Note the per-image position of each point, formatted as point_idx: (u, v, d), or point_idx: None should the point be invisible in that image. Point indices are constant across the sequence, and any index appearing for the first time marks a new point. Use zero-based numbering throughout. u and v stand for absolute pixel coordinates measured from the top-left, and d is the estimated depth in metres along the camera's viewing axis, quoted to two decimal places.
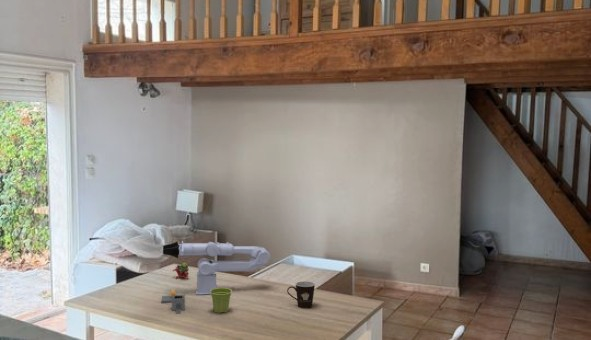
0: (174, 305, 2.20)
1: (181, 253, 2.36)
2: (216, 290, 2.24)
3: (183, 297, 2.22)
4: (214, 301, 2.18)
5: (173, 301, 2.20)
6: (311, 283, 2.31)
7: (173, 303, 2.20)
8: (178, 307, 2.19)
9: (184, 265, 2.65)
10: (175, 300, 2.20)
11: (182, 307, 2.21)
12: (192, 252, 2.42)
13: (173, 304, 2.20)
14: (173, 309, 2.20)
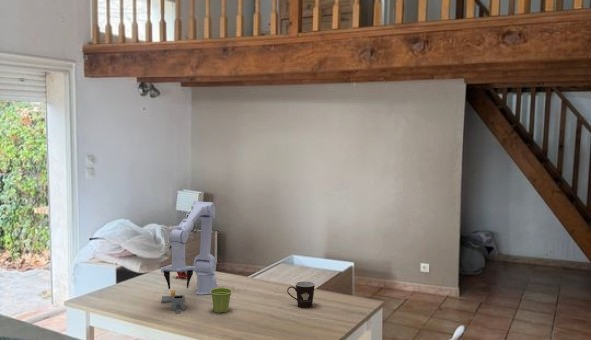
0: (174, 305, 2.20)
1: (195, 268, 2.23)
2: (216, 290, 2.24)
3: (183, 297, 2.22)
4: (214, 301, 2.18)
5: (173, 301, 2.20)
6: (311, 283, 2.31)
7: (173, 303, 2.20)
8: (178, 307, 2.19)
9: None
10: (175, 300, 2.20)
11: (182, 307, 2.21)
12: None
13: (173, 304, 2.20)
14: (173, 309, 2.20)
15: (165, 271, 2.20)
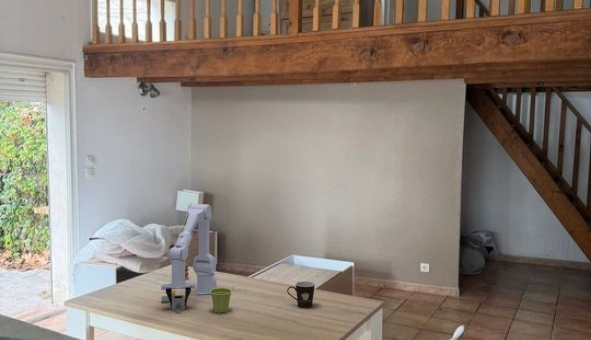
0: (174, 305, 2.20)
1: None
2: (216, 290, 2.24)
3: (183, 297, 2.22)
4: (214, 301, 2.18)
5: (173, 301, 2.20)
6: (311, 283, 2.31)
7: (173, 303, 2.20)
8: (178, 307, 2.19)
9: None
10: (175, 300, 2.20)
11: (182, 307, 2.21)
12: None
13: (173, 304, 2.20)
14: (173, 309, 2.20)
15: (165, 288, 2.21)
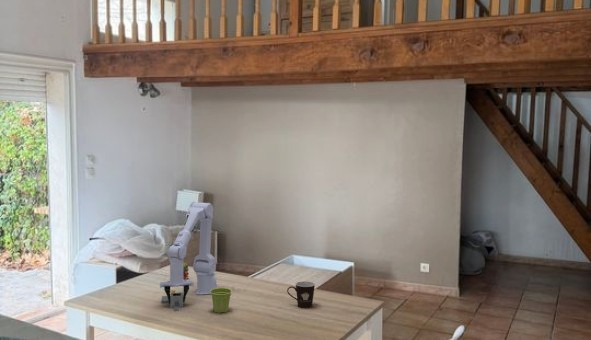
0: (172, 302, 2.23)
1: (193, 283, 2.28)
2: (216, 290, 2.24)
3: (181, 294, 2.26)
4: (214, 301, 2.18)
5: (171, 298, 2.23)
6: (311, 283, 2.31)
7: (171, 301, 2.23)
8: (176, 304, 2.22)
9: (184, 265, 2.65)
10: (173, 297, 2.23)
11: (180, 304, 2.24)
12: None
13: (171, 301, 2.23)
14: (171, 306, 2.23)
15: (164, 286, 2.24)
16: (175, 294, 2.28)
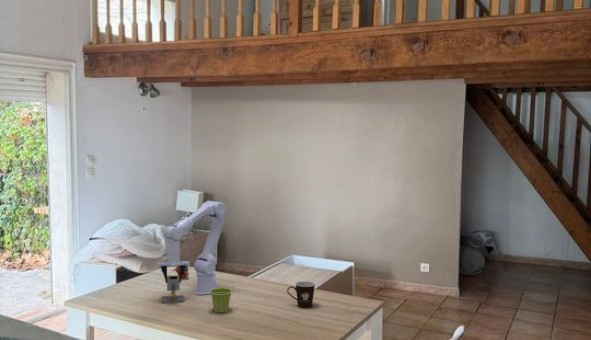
0: (169, 286, 2.30)
1: (189, 263, 2.34)
2: (216, 290, 2.24)
3: (178, 278, 2.32)
4: (214, 301, 2.18)
5: (168, 282, 2.29)
6: (311, 283, 2.31)
7: (168, 284, 2.30)
8: (173, 288, 2.29)
9: None
10: (170, 281, 2.30)
11: (177, 287, 2.31)
12: None
13: (168, 285, 2.30)
14: (168, 289, 2.30)
15: (161, 266, 2.31)
16: (172, 277, 2.34)
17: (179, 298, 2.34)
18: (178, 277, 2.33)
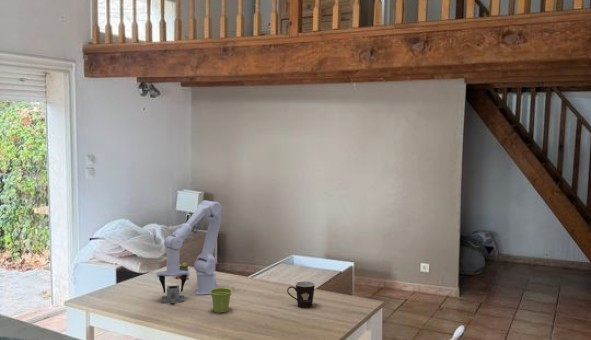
0: (169, 295, 2.31)
1: None
2: (216, 290, 2.24)
3: (178, 287, 2.33)
4: (214, 301, 2.18)
5: (168, 291, 2.31)
6: (311, 283, 2.31)
7: (168, 293, 2.31)
8: (173, 297, 2.30)
9: (184, 265, 2.65)
10: (170, 290, 2.31)
11: (177, 297, 2.31)
12: None
13: (168, 294, 2.31)
14: (168, 298, 2.31)
15: (160, 276, 2.32)
16: (171, 287, 2.35)
17: (179, 298, 2.34)
18: (178, 286, 2.34)
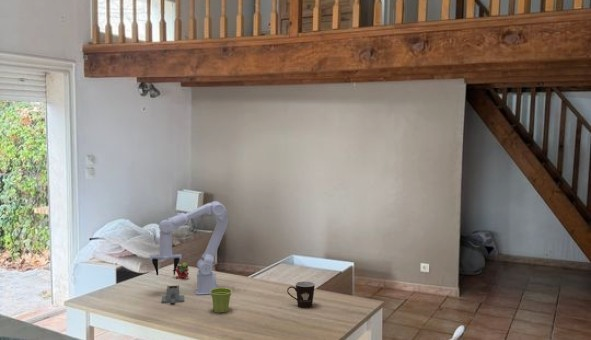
0: (169, 295, 2.31)
1: (181, 256, 2.42)
2: (216, 290, 2.24)
3: (178, 287, 2.33)
4: (214, 301, 2.18)
5: (168, 291, 2.31)
6: (311, 283, 2.31)
7: (168, 293, 2.31)
8: (173, 297, 2.30)
9: (184, 265, 2.65)
10: (170, 290, 2.31)
11: (177, 297, 2.31)
12: None
13: (168, 294, 2.31)
14: (168, 298, 2.31)
15: (153, 259, 2.38)
16: (171, 287, 2.35)
17: (179, 298, 2.34)
18: (178, 286, 2.34)
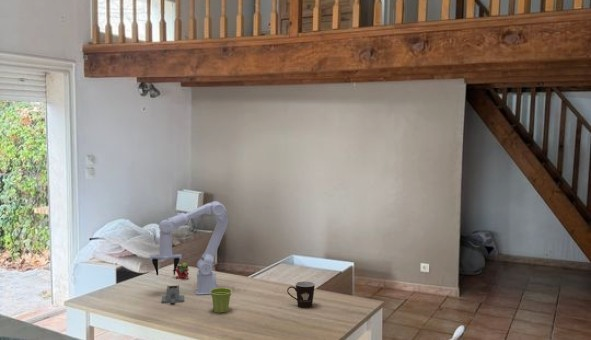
0: (169, 295, 2.31)
1: (181, 256, 2.42)
2: (216, 290, 2.24)
3: (178, 287, 2.33)
4: (214, 301, 2.18)
5: (168, 291, 2.31)
6: (311, 283, 2.31)
7: (168, 293, 2.31)
8: (173, 297, 2.30)
9: (184, 265, 2.65)
10: (170, 290, 2.31)
11: (177, 297, 2.31)
12: None
13: (168, 294, 2.31)
14: (168, 298, 2.31)
15: (153, 259, 2.38)
16: (171, 287, 2.35)
17: (179, 298, 2.34)
18: (178, 286, 2.34)
